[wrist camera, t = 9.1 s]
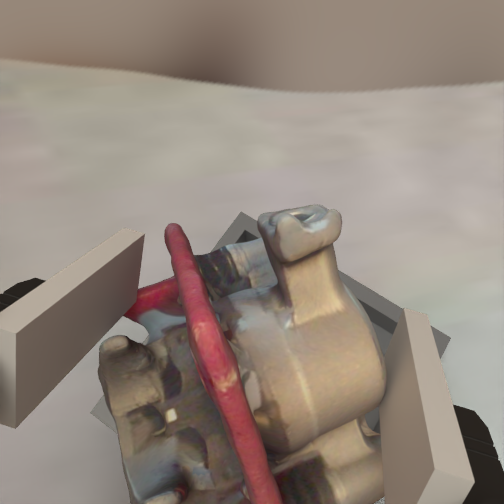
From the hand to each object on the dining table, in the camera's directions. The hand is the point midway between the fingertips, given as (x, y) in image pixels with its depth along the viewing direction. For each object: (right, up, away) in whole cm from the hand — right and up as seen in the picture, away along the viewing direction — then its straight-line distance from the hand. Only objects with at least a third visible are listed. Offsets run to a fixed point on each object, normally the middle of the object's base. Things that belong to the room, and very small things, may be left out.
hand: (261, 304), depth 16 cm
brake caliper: (-1, -4, +4) cm, 5 cm away
